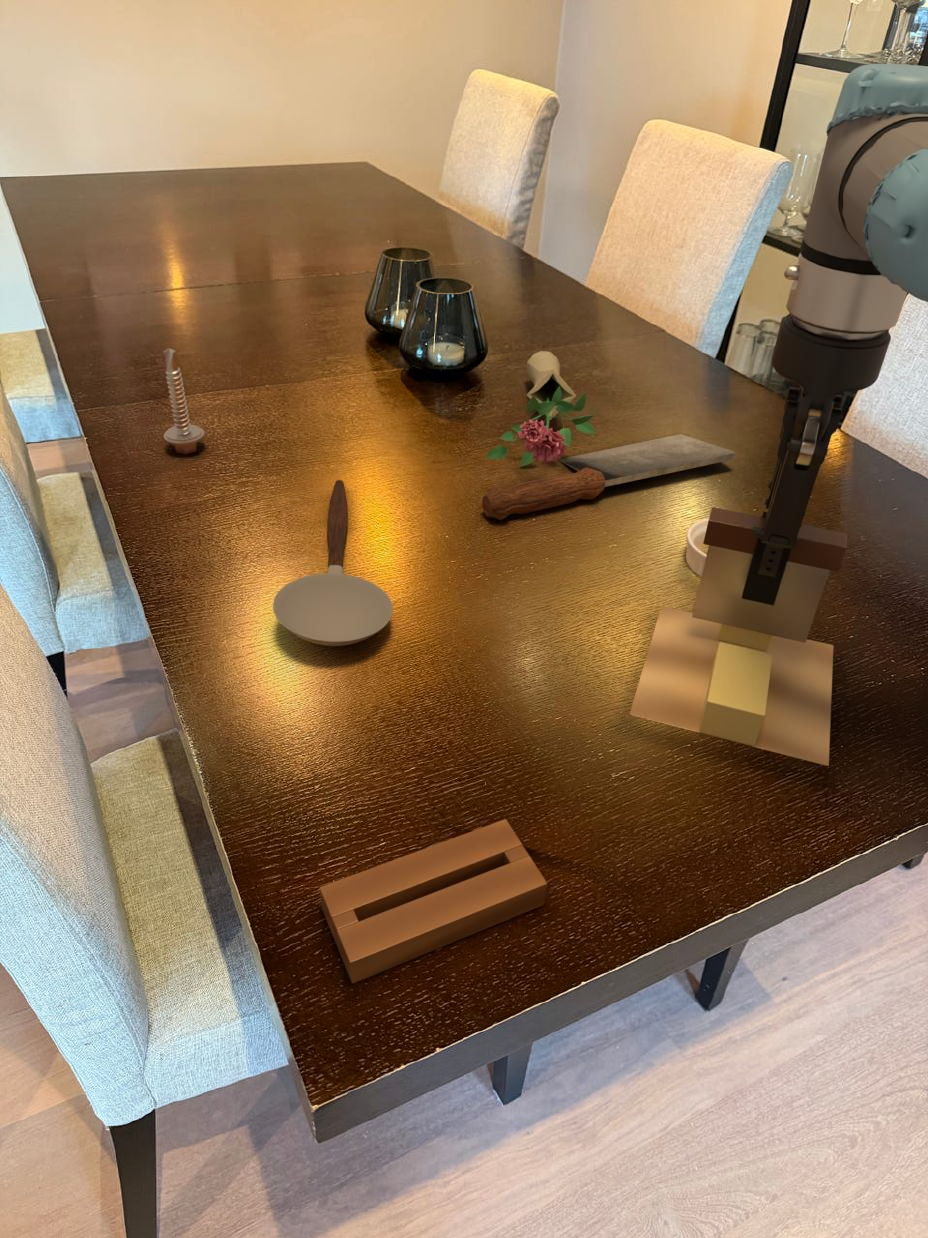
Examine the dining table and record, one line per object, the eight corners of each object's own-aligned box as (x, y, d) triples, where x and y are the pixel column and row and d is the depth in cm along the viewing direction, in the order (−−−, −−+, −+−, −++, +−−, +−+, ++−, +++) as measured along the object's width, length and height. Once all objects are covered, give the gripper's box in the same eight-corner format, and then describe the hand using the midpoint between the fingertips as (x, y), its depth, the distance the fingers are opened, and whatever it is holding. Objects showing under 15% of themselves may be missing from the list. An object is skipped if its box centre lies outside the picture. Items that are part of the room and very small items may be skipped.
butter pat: (767, 651, 82) (776, 621, 79) (717, 639, 83) (725, 609, 80) (769, 632, 84) (778, 602, 82) (720, 621, 85) (729, 591, 83)
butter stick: (754, 746, 72) (765, 715, 70) (698, 732, 73) (707, 701, 71) (762, 684, 78) (772, 653, 76) (710, 671, 79) (719, 641, 77)
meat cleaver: (679, 433, 119) (685, 405, 116) (734, 472, 111) (741, 442, 109) (450, 484, 107) (451, 454, 105) (494, 531, 99) (495, 500, 97)
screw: (213, 451, 111) (176, 462, 108) (196, 437, 114) (160, 447, 111) (197, 350, 103) (157, 359, 100) (179, 336, 106) (140, 345, 103)
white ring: (697, 602, 90) (706, 567, 87) (667, 553, 96) (674, 518, 94) (780, 596, 91) (791, 560, 88) (744, 547, 98) (754, 513, 95)
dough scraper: (810, 650, 78) (847, 547, 72) (684, 622, 81) (708, 520, 74) (811, 635, 80) (847, 533, 73) (688, 607, 83) (712, 506, 76)
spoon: (268, 666, 79) (268, 638, 77) (292, 490, 105) (292, 467, 104) (391, 670, 80) (394, 643, 79) (385, 496, 107) (386, 473, 105)
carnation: (559, 438, 133) (581, 514, 101) (482, 409, 131) (480, 478, 99) (591, 361, 128) (625, 416, 96) (511, 331, 126) (519, 376, 95)
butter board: (823, 778, 72) (829, 766, 71) (626, 726, 75) (629, 714, 74) (829, 657, 84) (833, 644, 83) (658, 617, 87) (661, 605, 86)
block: (544, 905, 62) (547, 883, 60) (352, 984, 57) (350, 963, 55) (503, 840, 66) (506, 818, 64) (321, 909, 61) (319, 887, 59)
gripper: (789, 282, 70) (725, 536, 85) (775, 350, 58) (704, 631, 73) (890, 295, 68) (807, 553, 83) (897, 368, 57) (799, 653, 71)
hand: (759, 589), depth 78 cm, fingers closed on dough scraper, 2 cm apart
